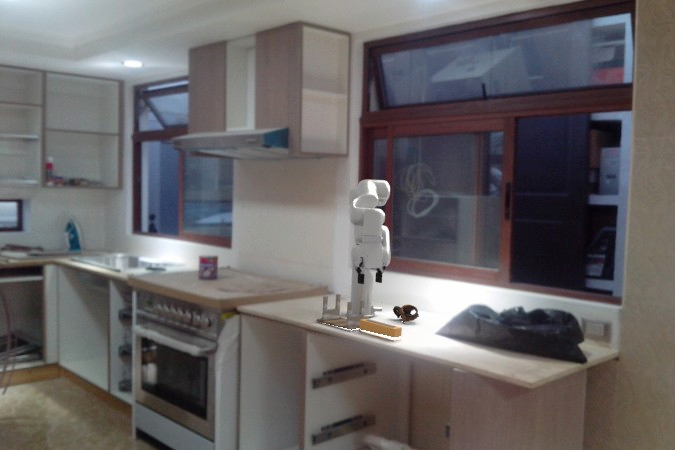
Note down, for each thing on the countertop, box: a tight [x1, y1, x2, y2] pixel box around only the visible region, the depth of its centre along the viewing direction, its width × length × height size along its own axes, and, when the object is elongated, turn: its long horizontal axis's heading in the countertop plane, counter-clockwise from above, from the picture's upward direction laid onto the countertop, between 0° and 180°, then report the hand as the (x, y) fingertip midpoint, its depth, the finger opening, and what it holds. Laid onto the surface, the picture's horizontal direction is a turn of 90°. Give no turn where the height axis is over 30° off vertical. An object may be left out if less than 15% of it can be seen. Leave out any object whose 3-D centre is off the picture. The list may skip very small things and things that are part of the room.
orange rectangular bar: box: [360, 318, 402, 337], centre depth 250 cm, size 18×4×5 cm, turn 45°
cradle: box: [316, 293, 365, 330], centre depth 264 cm, size 20×11×11 cm, turn 45°
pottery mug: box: [392, 304, 420, 323], centre depth 277 cm, size 12×10×8 cm
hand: (369, 283), depth 253 cm, fingers open, 9 cm apart
